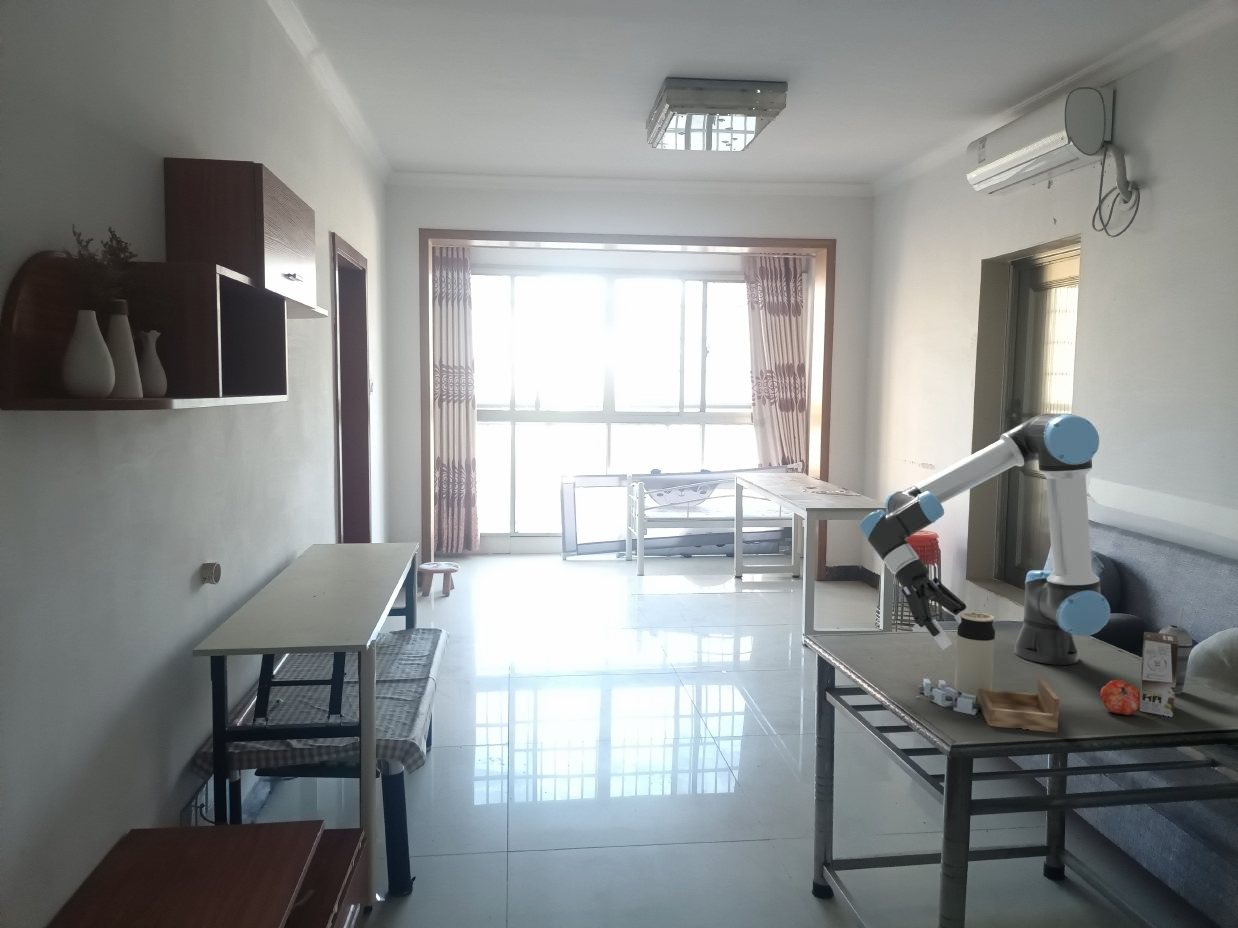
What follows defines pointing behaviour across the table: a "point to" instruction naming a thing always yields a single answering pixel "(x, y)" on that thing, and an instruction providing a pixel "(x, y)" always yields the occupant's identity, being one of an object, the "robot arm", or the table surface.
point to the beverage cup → (1180, 651)
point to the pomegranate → (1120, 697)
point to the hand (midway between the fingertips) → (962, 641)
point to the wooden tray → (1021, 708)
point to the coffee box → (1158, 673)
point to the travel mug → (974, 652)
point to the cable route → (950, 697)
